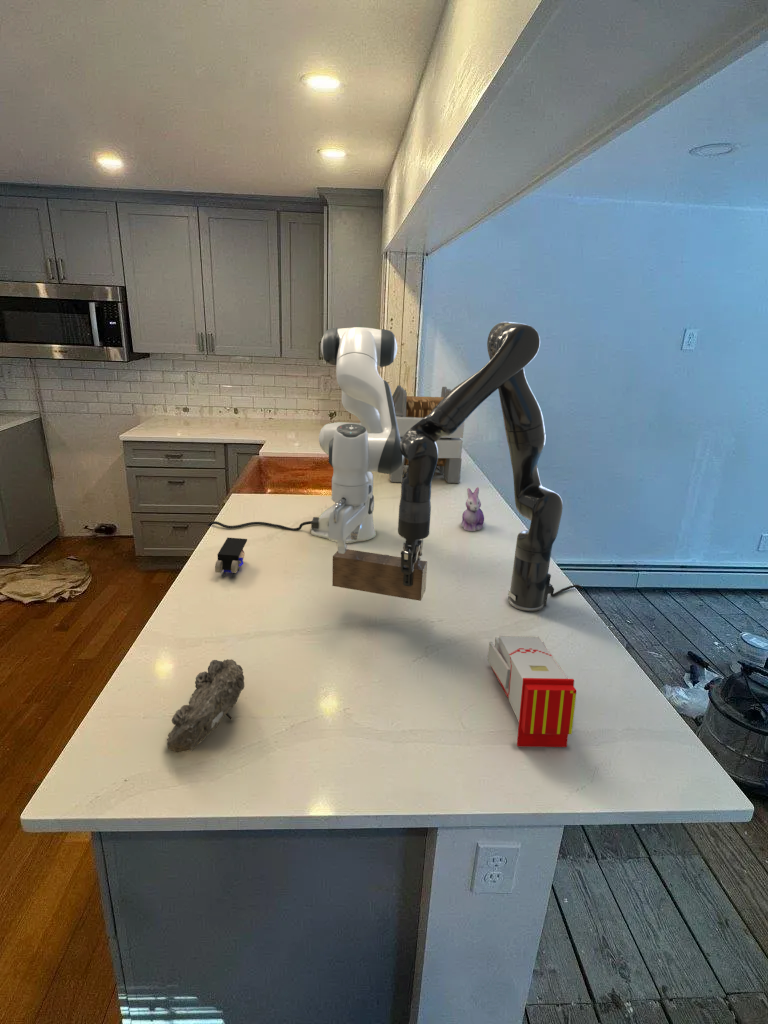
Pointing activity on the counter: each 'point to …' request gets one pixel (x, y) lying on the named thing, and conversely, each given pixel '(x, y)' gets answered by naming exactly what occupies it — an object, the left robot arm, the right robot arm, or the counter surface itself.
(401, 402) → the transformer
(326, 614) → the counter surface
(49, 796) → the counter surface
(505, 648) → the toy
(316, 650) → the counter surface
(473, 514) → the figurine
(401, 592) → the bar
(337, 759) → the counter surface
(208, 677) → the fossil
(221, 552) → the figurine character
